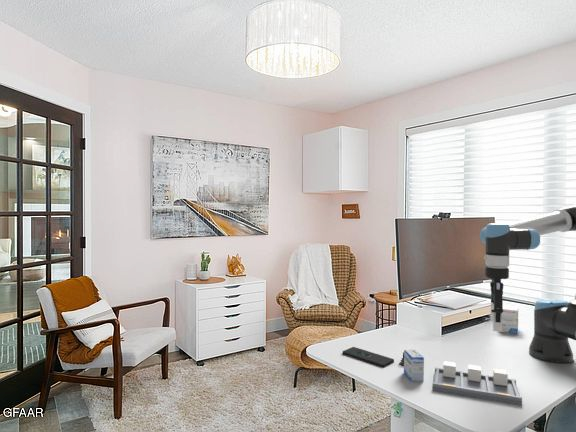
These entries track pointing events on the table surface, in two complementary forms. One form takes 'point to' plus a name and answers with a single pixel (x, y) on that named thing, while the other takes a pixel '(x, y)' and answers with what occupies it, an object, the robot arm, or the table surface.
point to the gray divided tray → (477, 387)
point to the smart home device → (368, 357)
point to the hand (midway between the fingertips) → (496, 325)
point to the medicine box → (413, 365)
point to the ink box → (510, 319)
